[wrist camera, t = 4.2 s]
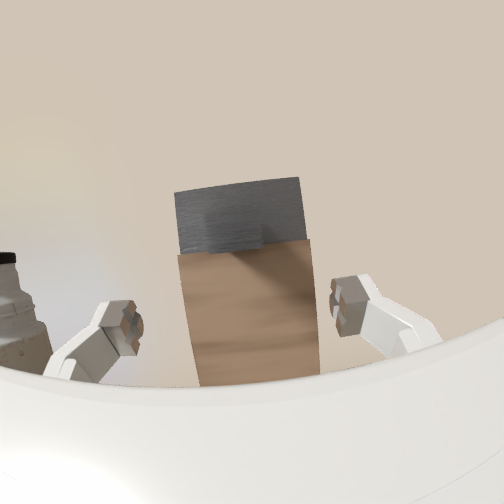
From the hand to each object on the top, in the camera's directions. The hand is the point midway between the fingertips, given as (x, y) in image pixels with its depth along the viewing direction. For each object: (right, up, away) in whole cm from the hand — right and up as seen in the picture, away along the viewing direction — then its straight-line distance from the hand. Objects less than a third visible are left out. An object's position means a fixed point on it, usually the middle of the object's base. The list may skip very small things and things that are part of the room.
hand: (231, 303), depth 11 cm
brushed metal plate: (0, +2, +8) cm, 8 cm away
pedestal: (+3, -23, +14) cm, 27 cm away
